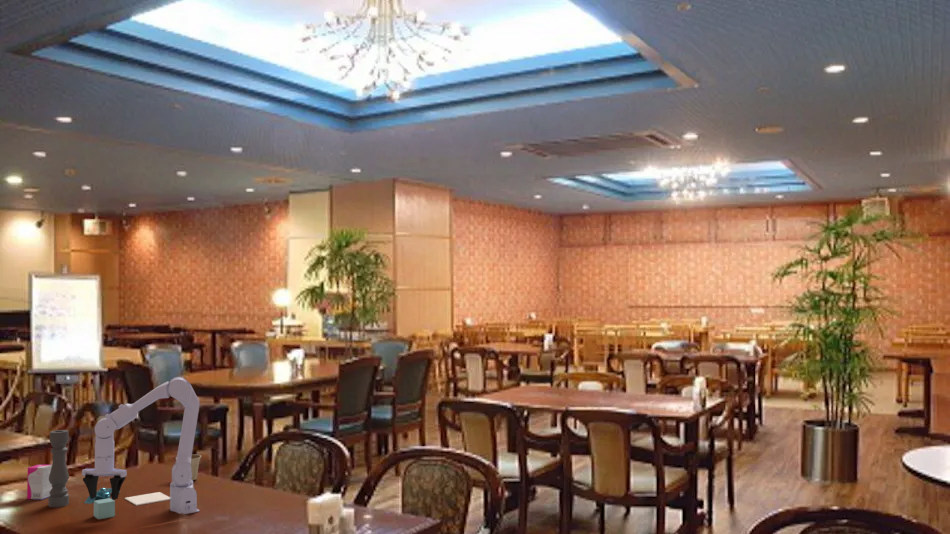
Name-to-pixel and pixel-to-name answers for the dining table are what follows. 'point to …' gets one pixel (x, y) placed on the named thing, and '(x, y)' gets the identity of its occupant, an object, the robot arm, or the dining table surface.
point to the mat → (148, 498)
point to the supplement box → (38, 482)
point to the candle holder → (58, 469)
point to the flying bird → (100, 495)
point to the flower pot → (194, 465)
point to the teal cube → (104, 508)
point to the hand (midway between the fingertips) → (104, 498)
